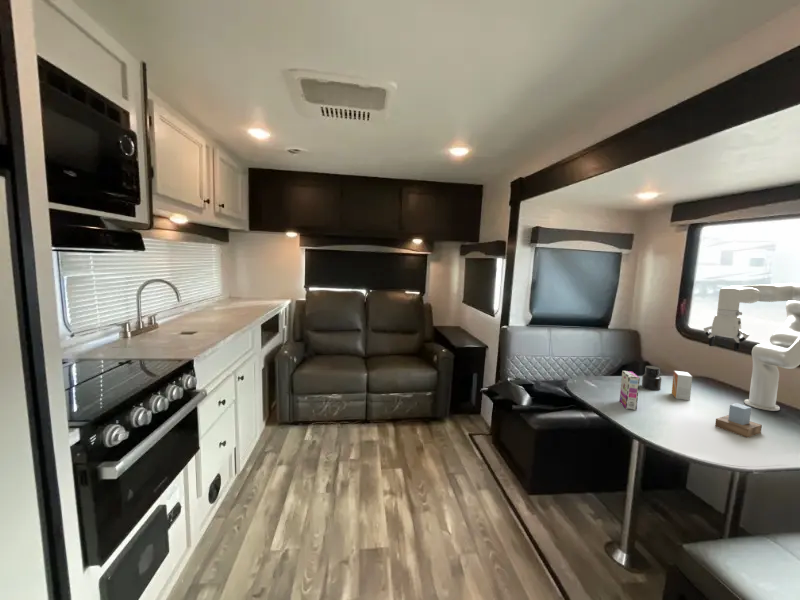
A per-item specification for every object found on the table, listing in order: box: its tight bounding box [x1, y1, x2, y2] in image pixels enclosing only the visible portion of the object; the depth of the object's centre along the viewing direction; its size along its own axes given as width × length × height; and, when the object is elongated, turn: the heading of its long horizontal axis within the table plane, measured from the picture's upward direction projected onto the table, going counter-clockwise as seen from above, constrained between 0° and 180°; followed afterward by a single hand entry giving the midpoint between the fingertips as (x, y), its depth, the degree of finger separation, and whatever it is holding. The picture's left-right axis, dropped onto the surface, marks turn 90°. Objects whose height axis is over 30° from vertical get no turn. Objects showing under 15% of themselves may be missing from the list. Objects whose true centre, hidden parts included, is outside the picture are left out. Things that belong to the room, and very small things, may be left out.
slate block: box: [728, 402, 752, 425], centre depth 155 cm, size 5×5×7 cm
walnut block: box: [714, 414, 763, 439], centre depth 156 cm, size 11×11×4 cm
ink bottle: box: [641, 365, 662, 391], centre depth 206 cm, size 10×9×12 cm
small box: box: [671, 370, 693, 401], centre depth 192 cm, size 8×6×13 cm
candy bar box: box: [619, 370, 641, 411], centre depth 179 cm, size 11×5×16 cm, turn 163°
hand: (723, 348), depth 175 cm, fingers open, 9 cm apart
